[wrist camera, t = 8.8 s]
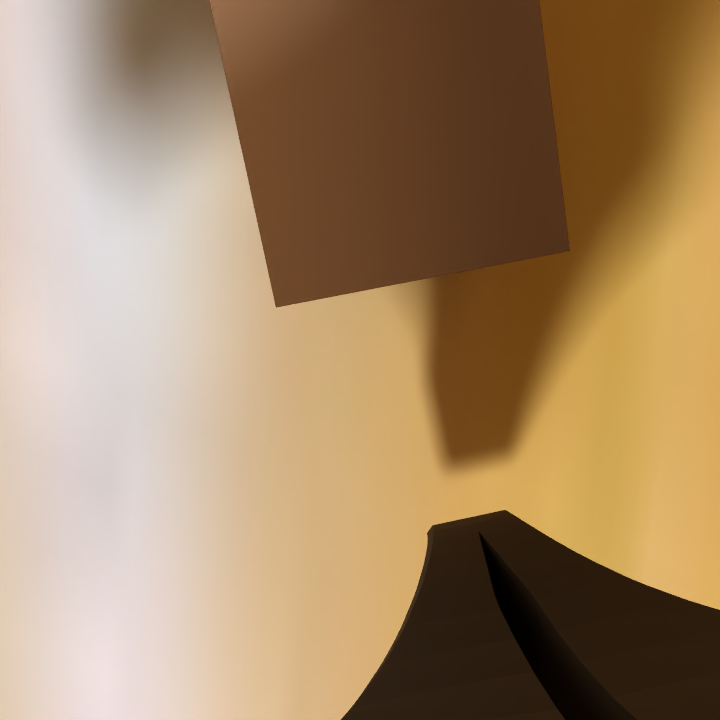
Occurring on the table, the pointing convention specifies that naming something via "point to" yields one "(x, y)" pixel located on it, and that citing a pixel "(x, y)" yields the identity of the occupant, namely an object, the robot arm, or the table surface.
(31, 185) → the table surface
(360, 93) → the tall brown box
